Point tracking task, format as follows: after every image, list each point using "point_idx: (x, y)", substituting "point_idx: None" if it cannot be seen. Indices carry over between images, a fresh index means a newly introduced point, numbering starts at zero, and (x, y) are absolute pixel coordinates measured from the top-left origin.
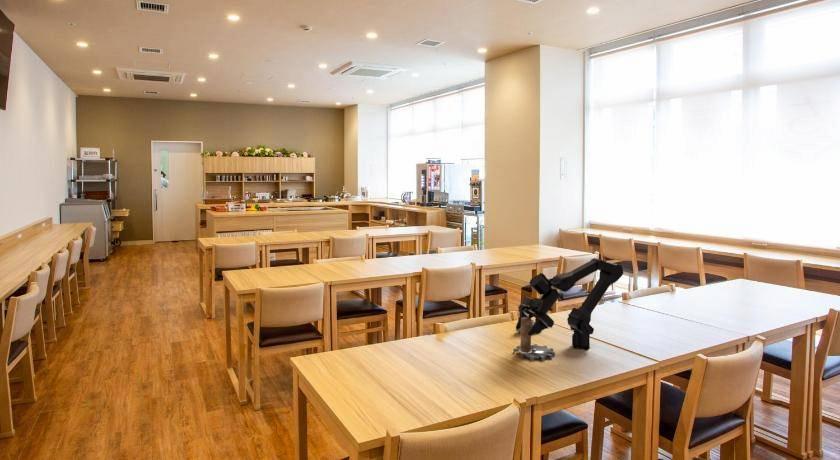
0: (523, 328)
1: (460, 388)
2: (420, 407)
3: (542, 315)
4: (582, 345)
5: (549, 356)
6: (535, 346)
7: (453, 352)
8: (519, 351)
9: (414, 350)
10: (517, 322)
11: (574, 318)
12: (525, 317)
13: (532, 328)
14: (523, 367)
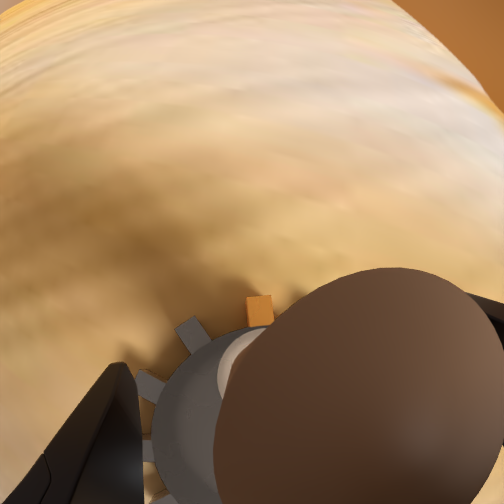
0: (254, 339)
1: (31, 64)
2: (18, 30)
3: None
4: None
5: (157, 498)
6: None
7: (338, 66)
8: (261, 328)
9: (351, 14)
10: (498, 302)
11: None
12: (500, 424)
13: (57, 435)
14: (63, 283)
